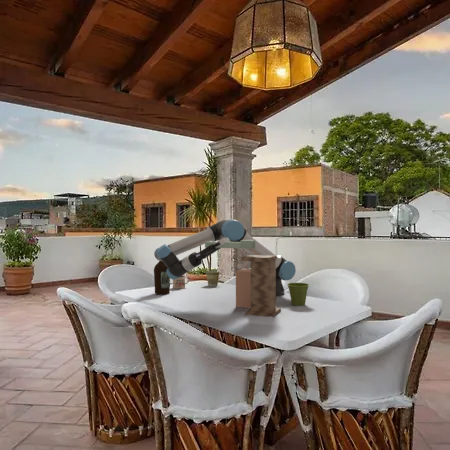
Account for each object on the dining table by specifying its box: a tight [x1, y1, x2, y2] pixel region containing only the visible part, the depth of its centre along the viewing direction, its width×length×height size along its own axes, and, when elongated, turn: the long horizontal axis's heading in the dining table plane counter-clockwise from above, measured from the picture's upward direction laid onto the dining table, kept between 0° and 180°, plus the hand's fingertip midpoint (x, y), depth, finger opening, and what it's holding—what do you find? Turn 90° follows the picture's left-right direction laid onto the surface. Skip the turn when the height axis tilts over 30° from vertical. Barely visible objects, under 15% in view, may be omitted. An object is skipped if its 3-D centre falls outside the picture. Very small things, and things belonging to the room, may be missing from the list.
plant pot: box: [286, 282, 310, 307], centre depth 207 cm, size 12×12×11 cm
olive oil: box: [153, 260, 171, 296], centre depth 246 cm, size 11×11×25 cm
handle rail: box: [204, 239, 256, 250], centre depth 195 cm, size 26×6×4 cm, turn 68°
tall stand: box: [240, 254, 282, 318], centre depth 189 cm, size 16×14×28 cm
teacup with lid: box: [172, 274, 190, 290], centre depth 269 cm, size 12×9×12 cm
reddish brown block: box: [235, 268, 251, 309], centre depth 207 cm, size 14×14×19 cm
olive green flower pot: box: [205, 270, 223, 287], centre depth 278 cm, size 13×10×10 cm
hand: (227, 239), depth 196 cm, fingers closed on handle rail, 4 cm apart
